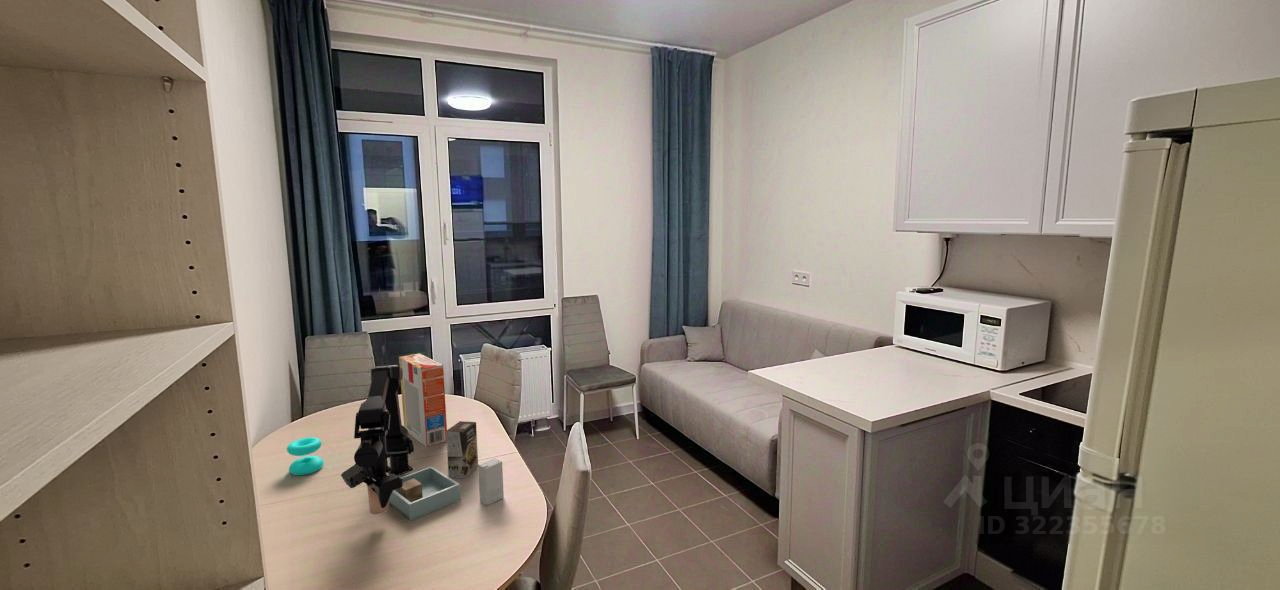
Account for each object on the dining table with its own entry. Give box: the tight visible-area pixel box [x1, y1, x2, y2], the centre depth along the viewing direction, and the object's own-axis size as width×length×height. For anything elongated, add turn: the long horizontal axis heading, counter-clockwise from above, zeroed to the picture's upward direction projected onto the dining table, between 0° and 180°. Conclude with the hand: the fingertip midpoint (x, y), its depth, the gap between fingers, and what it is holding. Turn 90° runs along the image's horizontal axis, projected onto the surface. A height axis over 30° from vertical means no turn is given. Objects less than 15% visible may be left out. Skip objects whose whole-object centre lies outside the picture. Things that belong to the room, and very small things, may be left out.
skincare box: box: [477, 457, 505, 506], centre depth 164 cm, size 6×4×12 cm
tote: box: [389, 466, 462, 522], centre depth 165 cm, size 18×16×5 cm
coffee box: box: [446, 421, 479, 479], centre depth 182 cm, size 9×6×16 cm
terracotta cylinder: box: [367, 483, 391, 515], centre depth 151 cm, size 5×5×7 cm
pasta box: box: [398, 352, 448, 448], centre depth 211 cm, size 23×8×30 cm, turn 43°
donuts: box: [286, 436, 324, 476], centre depth 184 cm, size 10×10×10 cm
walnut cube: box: [398, 479, 423, 502], centre depth 164 cm, size 5×5×5 cm
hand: (379, 503), depth 152 cm, fingers closed on terracotta cylinder, 5 cm apart
